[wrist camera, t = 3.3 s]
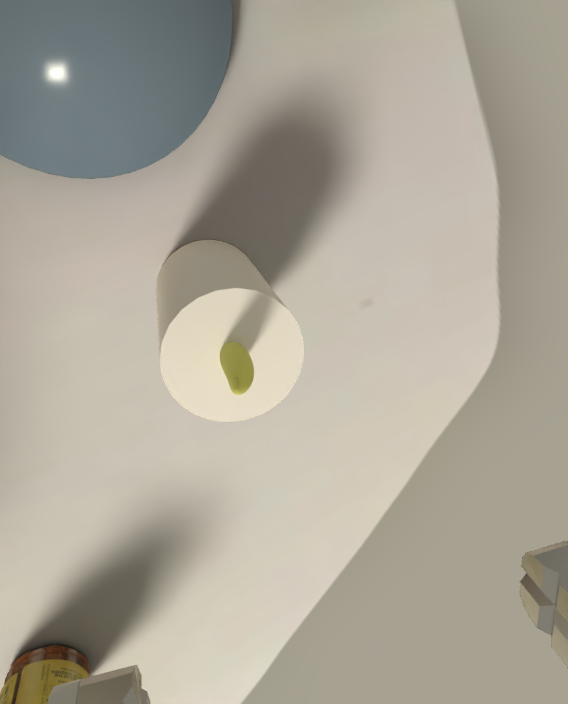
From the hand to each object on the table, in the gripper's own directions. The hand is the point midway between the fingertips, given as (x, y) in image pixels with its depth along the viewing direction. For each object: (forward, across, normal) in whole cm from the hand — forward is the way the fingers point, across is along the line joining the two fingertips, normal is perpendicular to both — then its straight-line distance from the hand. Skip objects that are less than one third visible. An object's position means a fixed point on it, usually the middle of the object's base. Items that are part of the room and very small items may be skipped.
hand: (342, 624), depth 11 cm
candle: (+25, 0, 0) cm, 25 cm away
